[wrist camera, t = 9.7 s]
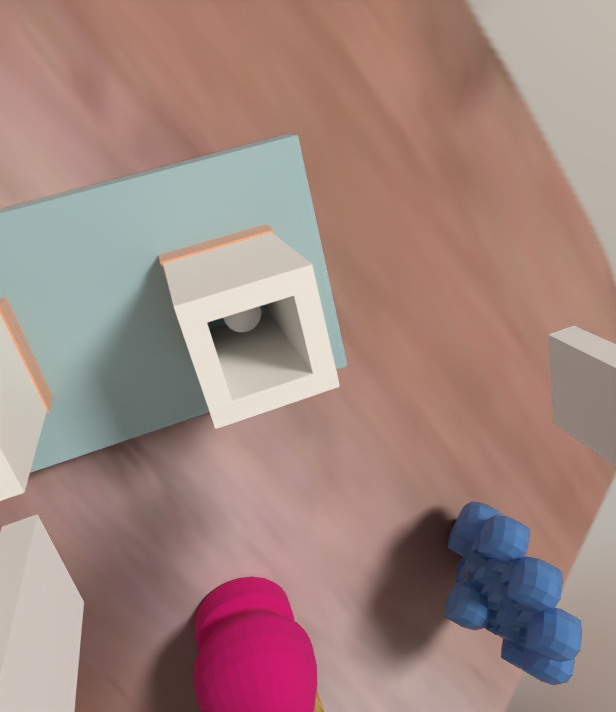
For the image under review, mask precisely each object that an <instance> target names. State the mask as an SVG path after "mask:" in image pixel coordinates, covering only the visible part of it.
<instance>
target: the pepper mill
mask: <svg viewBox="0 0 616 712" xmlns="http://www.w3.org/2000/svg"><path fill="white" fill-rule="evenodd" d="M194 625H195V633H196V640H197V647H198V651H199V653H198V655H197V658H196V661H195V664H194V670H193V684H194V689H195V694H196V698H197V703H198V705H199V707H200V710H201V712H314V710H315V701H316V691H317V665H316V660H315V656H314V651H313V647H312V644H311V641H310V638H309V637H308V635H307V633H306V632H305V630H304V629H303V628H302V627H301V626H300V625H299V624H298V623H297V622H295V621H294V616H293V613H292V610H291V607H290V604H289V601H288V598H287V595H286V593H285V592H284V591H283V589H282V588H281V587H280V586H279V585H277V584H276V583H274V582H272V581H269V580H267V579H264V578H257V577H247V578H240V579H236V580H233V581H230V582H227V583H225V584H223V585H221V586H220V587H218V588H217V589H215V590H214V591H213V592H212V593H210V594H209V595H208V596H207V597H206V598H205V600H204V601H203V602H202V604H201V605H200V607H199V608H198V611H197V613H196V617H195V624H194Z"/></svg>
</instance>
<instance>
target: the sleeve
mask: <svg viewBox="0 0 616 712" xmlns="http://www.w3.org/2000/svg"><path fill="white" fill-rule="evenodd" d="M159 260H160V264H161V267H162V269H163V272H164V275H165V278H166V281H167V284H168V287H169V290H170V294H171V298H172V302H173V306H174V309H175V312H176V315H177V318H178V321H179V324H180V327H181V330H182V333H183V336H184V339H185V341H186V344H187V347H188V350H189V353H190V356H191V359H192V362H193V365H194V368H195V371H196V374H197V376H198V379H199V382H200V385H201V388H202V391H203V394H204V397H205V400H206V403H207V406H208V409H209V412H210V414H211V417H212V420H213V423H214V426H215V429H217V428H220V427H223V426H226V425H229V424H232V423H235V422H238V421H241V420H244V419H246V418H249V417H252V416H255V415H258V414H261V413H264V412H267V411H270V410H273V409H276V408H279V407H282V406H284V405H287V404H290V403H293V402H296V401H299V400H302V399H305V398H308V397H311V396H314V395H317V394H320V393H322V392H325V391H328V390H331V389H334V388H337V387H340V385H339V381H338V376H337V372H336V367H335V363H334V358H333V354H332V350H331V345H330V341H329V336H328V332H327V327H326V323H325V319H324V314H323V310H322V305H321V301H320V296H319V292H318V288H317V283H316V279H315V274H314V270H313V265H312V264H311V263H310V262H309V261H307V260H306V259H305V258H304V257H302V256H301V255H300V254H299V253H297V252H296V251H295V250H293V249H292V248H291V247H290V246H288V245H287V244H286V243H285V242H283V241H282V240H281V239H280V238H278V237H277V236H276V235H275V234H274V230H273V229H272V228H271V227H269V226H268V225H267V224H265V225H261V226H258V227H254V228H251V229H248V230H244V231H241V232H237V233H234V234H230V235H227V236H223V237H220V238H216V239H213V240H209V241H206V242H202V243H199V244H195V245H192V246H188V247H185V248H181V249H178V250H174V251H171V252H168V253H164V254H161V255H159ZM265 304H266V306H267V310H268V312H265V313H262V314H261V319H260V321H259V323H258V324H257V326H256V327H255V328H253V329H252V330H250V331H247V332H236V331H233V330H232V329H230V328H229V327H228V326H227V325H223V326H220V327H217V328H214V329H211V330H209V327H208V324H207V322H210V321H214V320H217V319H220V318H223V317H227V316H230V315H233V314H236V313H239V312H243V311H246V310H249V309H252V308H255V307H259V306H262V305H265Z"/></svg>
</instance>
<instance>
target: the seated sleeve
mask: <svg viewBox="0 0 616 712" xmlns="http://www.w3.org/2000/svg"><path fill="white" fill-rule="evenodd" d="M52 402H53V396H52V393H51V391H50V389H49V387H48V385H47V383H46V381H45V379H44V376H43V374H42V372H41V370H40V368H39V366H38V364H37V362H36V359H35V357H34V355H33V353H32V351H31V349H30V347H29V345H28V342H27V340H26V338H25V336H24V334H23V332H22V330H21V328H20V325H19V323H18V321H17V319H16V317H15V315H14V313H13V311H12V308H11V306H10V304H9V302H8V300H7V298H6V297H5V298H1V299H0V501H1V500H4V499H7V498H10V497H13V496H16V495H19V494H22V493H24V492H25V489H26V485H27V481H28V478H29V474H30V470H31V467H32V463H33V459H34V456H35V452H36V448H37V445H38V441H39V438H40V434H41V430H42V427H43V423H44V419H45V416H46V413H48V412H50V410H51V406H52Z"/></svg>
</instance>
